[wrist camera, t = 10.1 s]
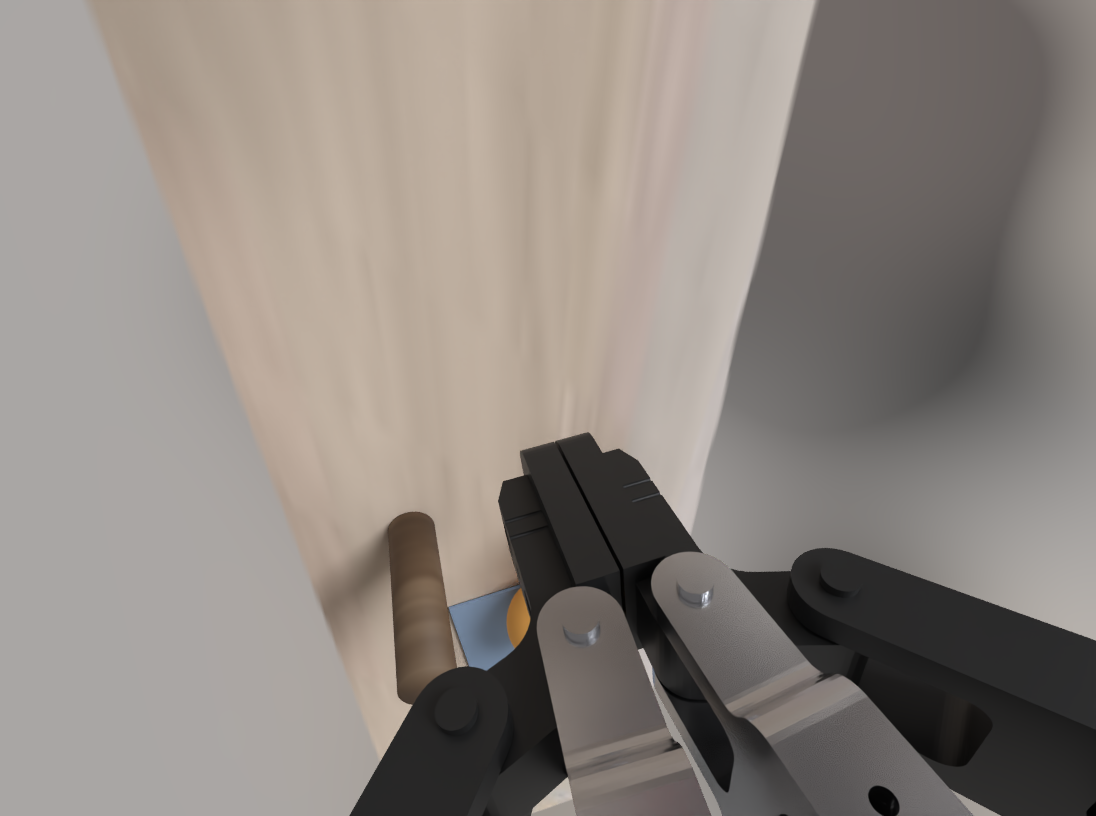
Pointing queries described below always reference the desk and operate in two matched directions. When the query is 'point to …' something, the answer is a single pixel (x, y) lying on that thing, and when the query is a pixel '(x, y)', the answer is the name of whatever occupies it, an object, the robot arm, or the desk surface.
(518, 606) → the ball
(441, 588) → the post
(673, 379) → the desk surface
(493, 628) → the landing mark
